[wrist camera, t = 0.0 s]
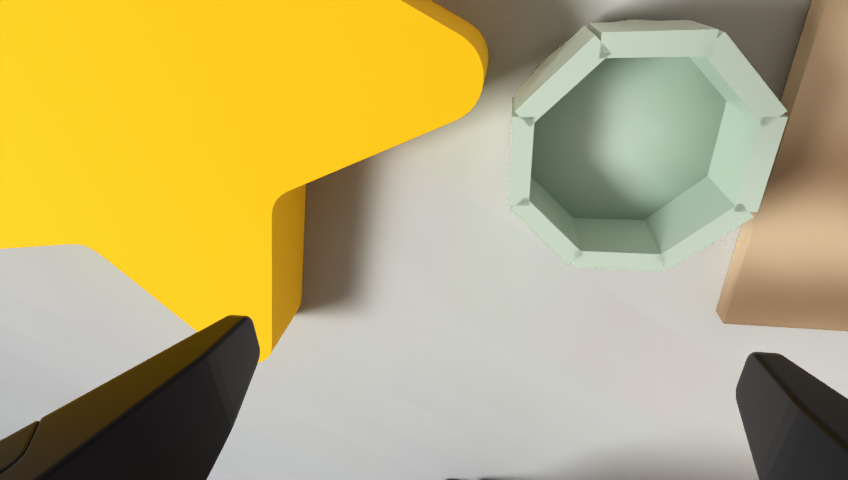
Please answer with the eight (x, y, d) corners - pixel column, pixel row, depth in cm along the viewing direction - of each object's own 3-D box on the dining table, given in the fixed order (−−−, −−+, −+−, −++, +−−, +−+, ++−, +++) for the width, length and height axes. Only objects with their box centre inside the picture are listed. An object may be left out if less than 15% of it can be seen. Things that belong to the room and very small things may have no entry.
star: (-547, -576, 13) (564, -674, 10) (-306, -453, 17) (549, -494, 14) (-55, 315, 28) (449, 395, 25) (14, 273, 32) (458, 337, 28)
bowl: (705, 229, 22) (737, 275, 19) (506, 223, 24) (505, 264, 21) (762, 15, 18) (816, 26, 15) (515, 22, 20) (515, 34, 16)
